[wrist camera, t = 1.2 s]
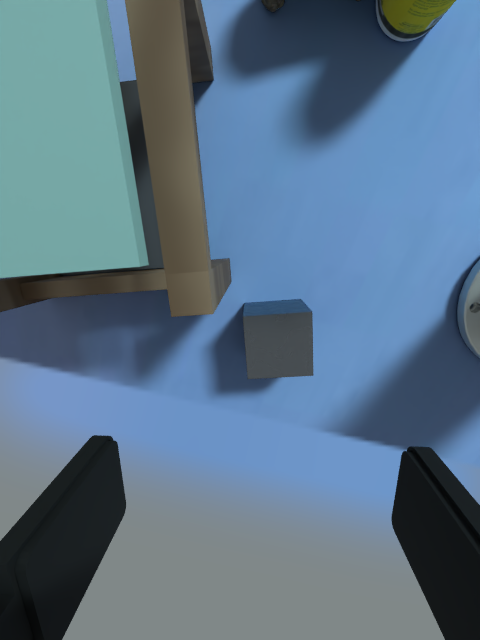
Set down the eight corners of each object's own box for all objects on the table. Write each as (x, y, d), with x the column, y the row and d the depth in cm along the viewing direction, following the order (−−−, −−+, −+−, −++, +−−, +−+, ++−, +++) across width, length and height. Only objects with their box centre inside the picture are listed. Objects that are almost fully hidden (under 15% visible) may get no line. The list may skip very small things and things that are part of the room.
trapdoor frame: (210, 48, 21) (157, -205, 9) (231, 281, 25) (212, 314, 13) (-10, 75, 22) (-311, -117, 10) (46, 295, 26) (-119, 336, 14)
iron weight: (300, 298, 25) (312, 311, 20) (302, 351, 26) (313, 375, 22) (244, 302, 25) (242, 316, 21) (248, 354, 27) (247, 379, 22)
